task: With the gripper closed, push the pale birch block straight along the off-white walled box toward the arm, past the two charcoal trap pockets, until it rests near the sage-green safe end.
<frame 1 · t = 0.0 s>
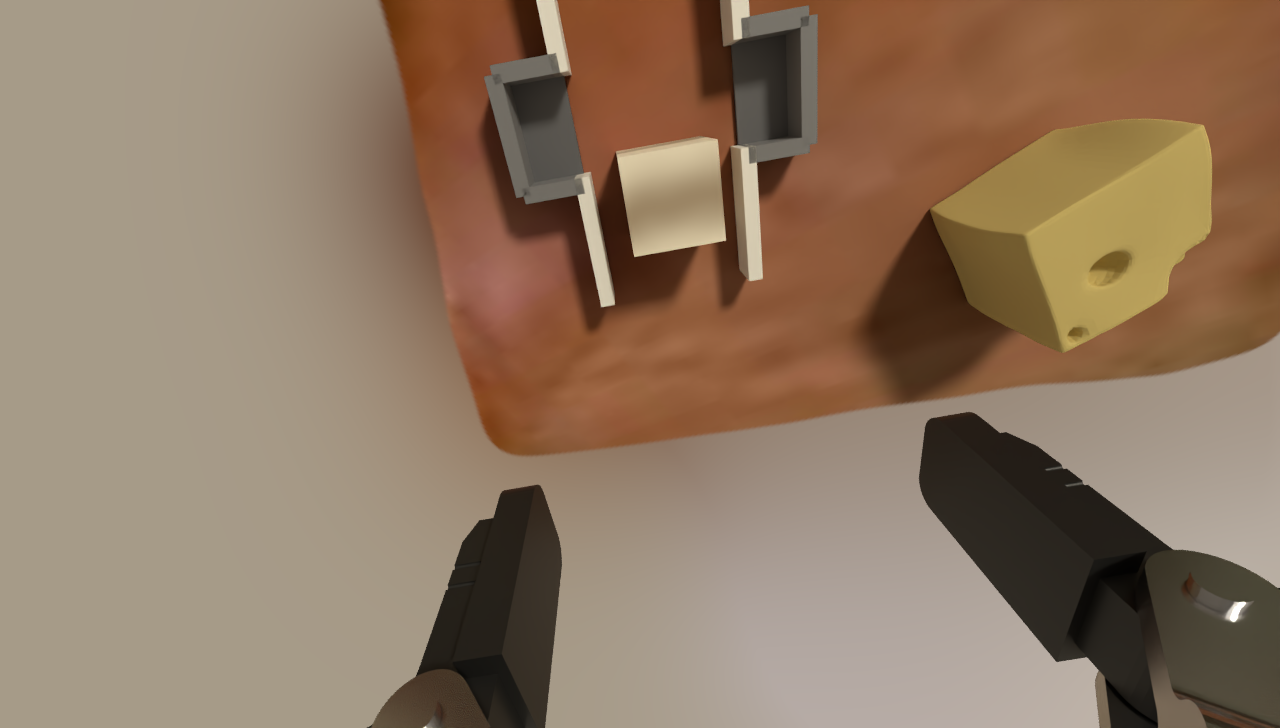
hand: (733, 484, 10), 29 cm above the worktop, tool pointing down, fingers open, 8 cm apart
cheese: (1003, 221, 38), on the worktop
birch block: (664, 188, 35), resting in trap box
trap box: (651, 95, 33), on the worktop
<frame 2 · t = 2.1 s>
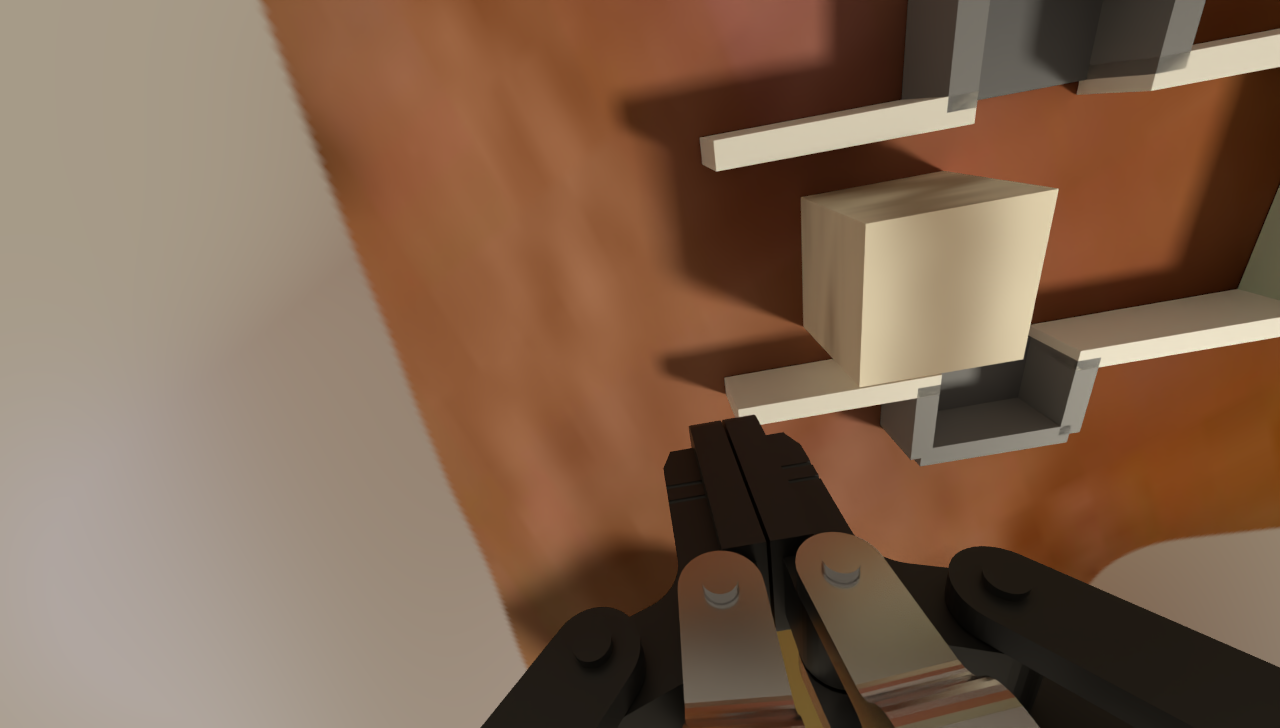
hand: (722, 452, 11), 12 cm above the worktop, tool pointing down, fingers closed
cheese: (750, 635, 34), on the worktop
birch block: (867, 253, 22), resting in trap box
trap box: (1004, 230, 22), on the worktop
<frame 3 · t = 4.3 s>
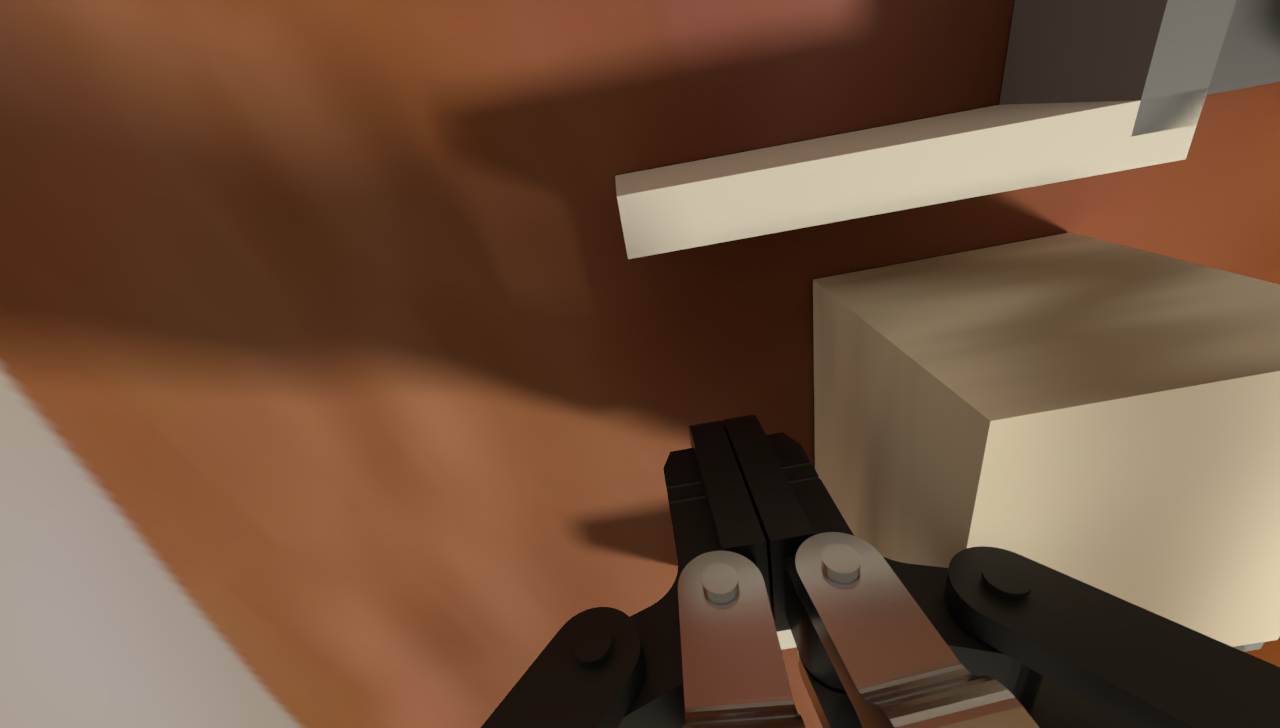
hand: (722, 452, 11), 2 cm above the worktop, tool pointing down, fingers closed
birch block: (928, 368, 13), resting in trap box, touching gripper
trap box: (1154, 328, 13), on the worktop
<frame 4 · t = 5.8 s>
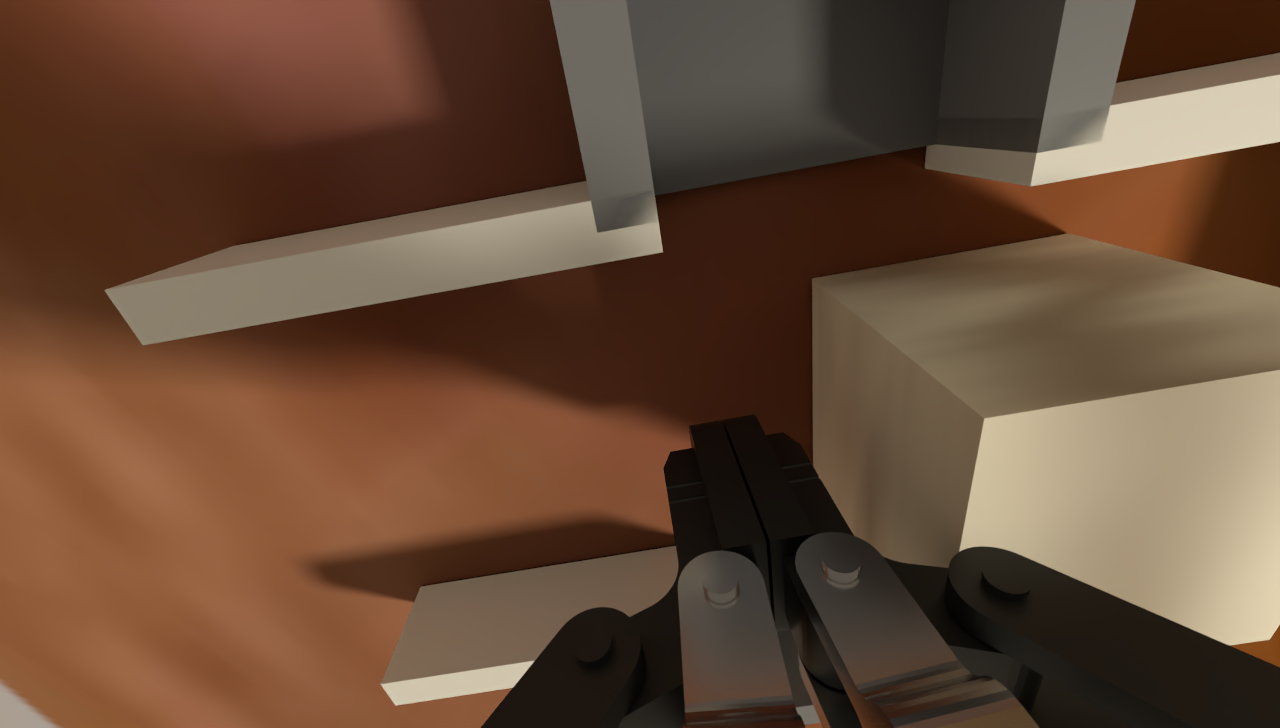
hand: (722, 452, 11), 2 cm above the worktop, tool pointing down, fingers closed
birch block: (926, 367, 13), resting in trap box, touching gripper
trap box: (829, 383, 13), on the worktop
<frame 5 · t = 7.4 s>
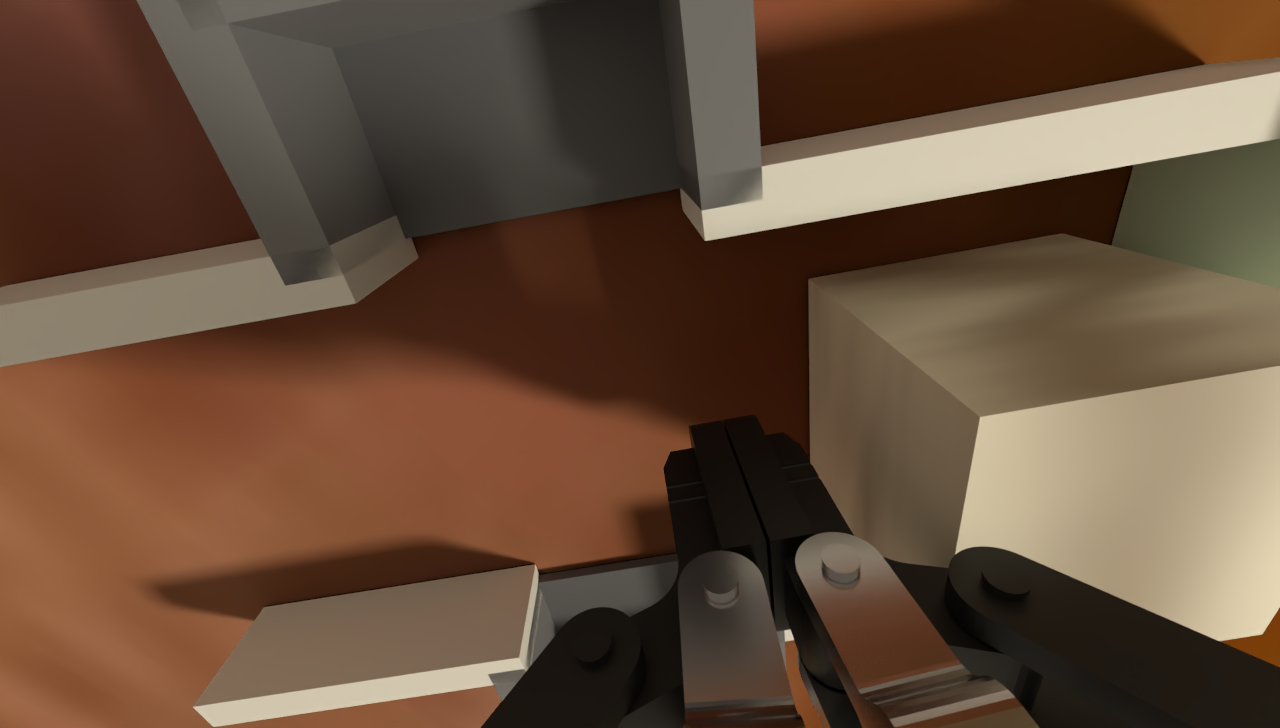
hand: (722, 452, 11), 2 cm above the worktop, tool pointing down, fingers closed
birch block: (922, 367, 13), resting in trap box, touching gripper
trap box: (632, 413, 13), on the worktop
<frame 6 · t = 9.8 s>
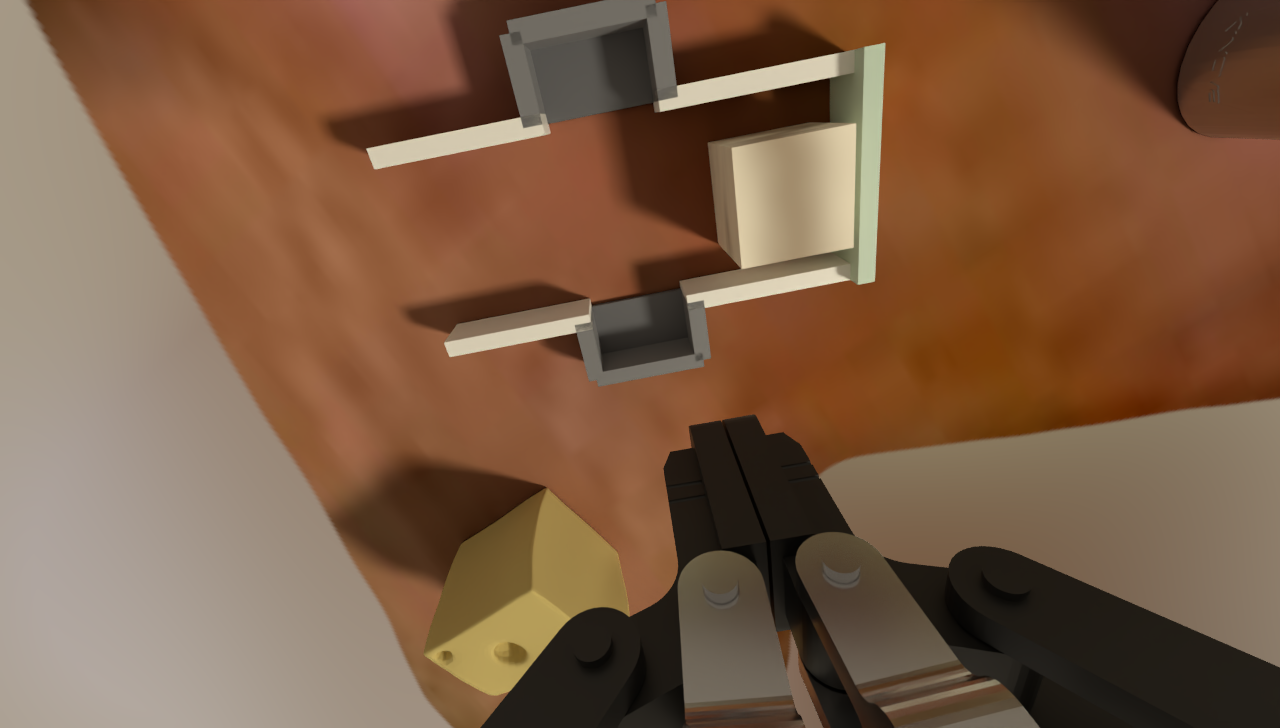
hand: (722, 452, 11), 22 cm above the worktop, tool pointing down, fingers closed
cheese: (542, 544, 42), on the worktop
birch block: (761, 185, 30), resting in trap box
trap box: (635, 209, 30), on the worktop
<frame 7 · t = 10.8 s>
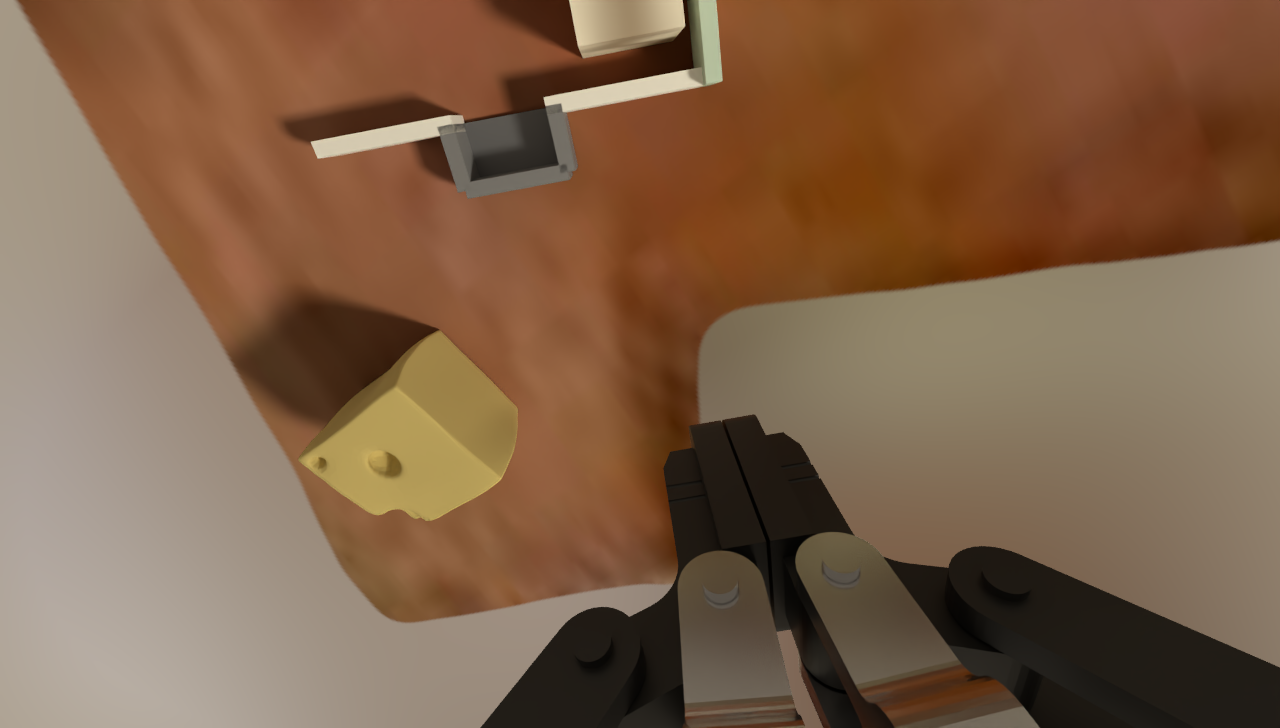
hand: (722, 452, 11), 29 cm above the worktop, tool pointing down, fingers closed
cheese: (442, 396, 43), on the worktop
trap box: (497, 16, 31), on the worktop
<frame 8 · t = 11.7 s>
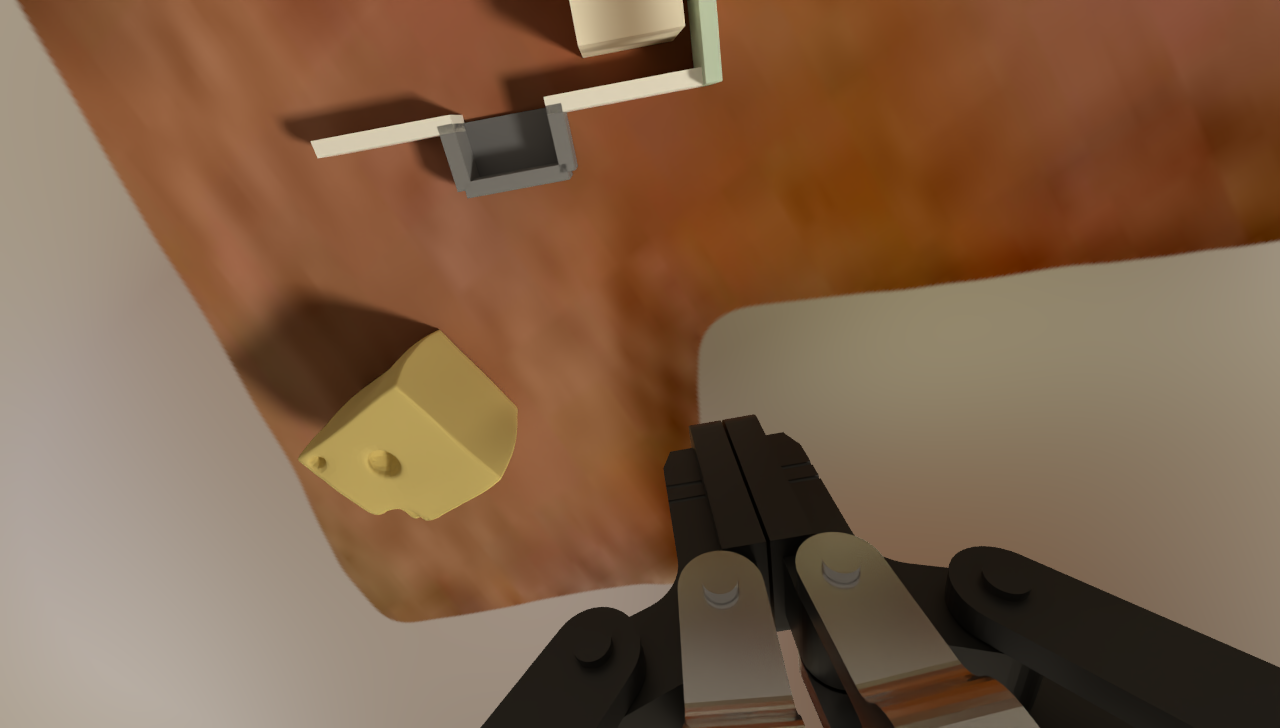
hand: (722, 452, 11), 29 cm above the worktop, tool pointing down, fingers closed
cheese: (442, 396, 43), on the worktop
trap box: (497, 15, 31), on the worktop
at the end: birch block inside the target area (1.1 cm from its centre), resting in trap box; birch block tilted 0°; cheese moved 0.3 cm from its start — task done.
